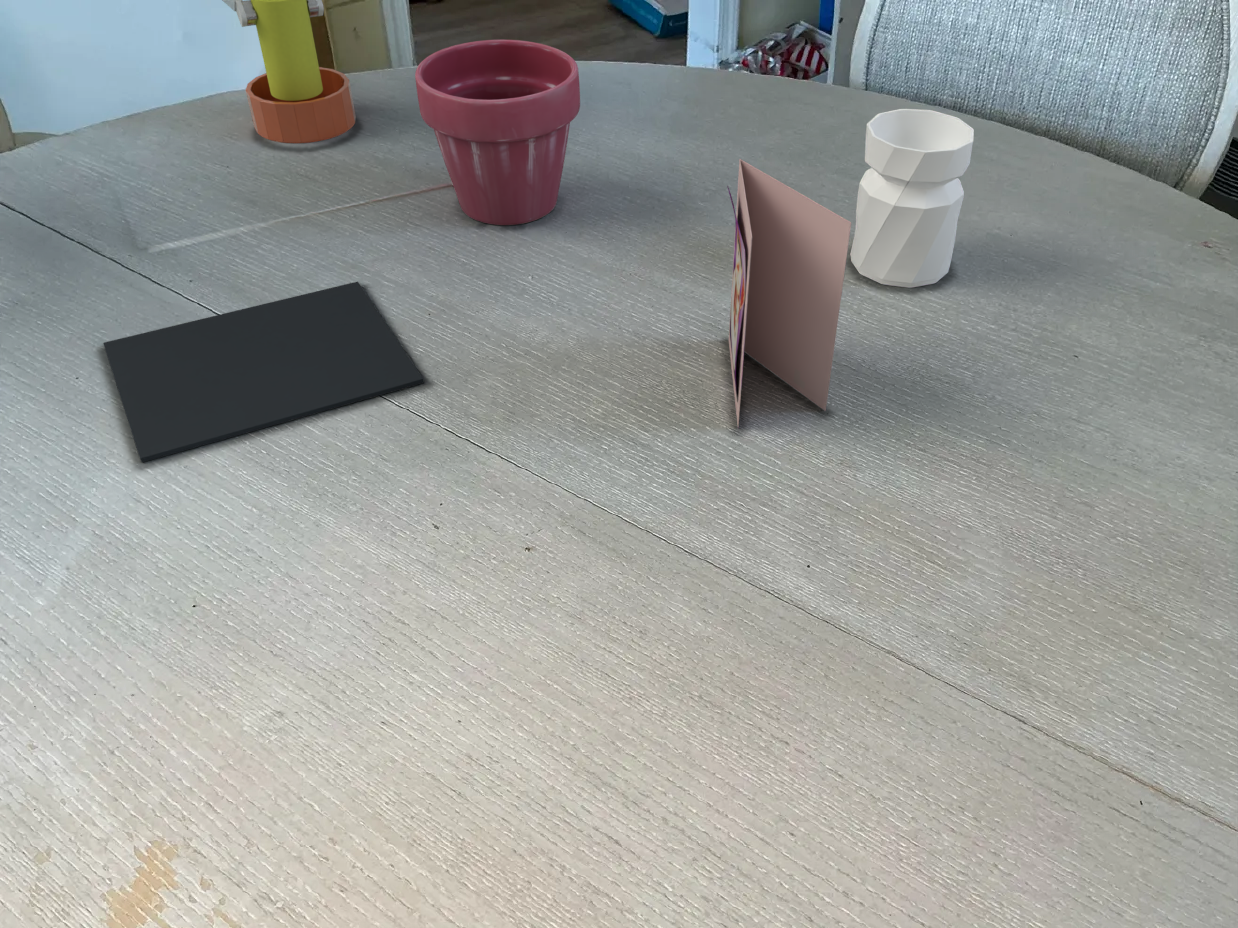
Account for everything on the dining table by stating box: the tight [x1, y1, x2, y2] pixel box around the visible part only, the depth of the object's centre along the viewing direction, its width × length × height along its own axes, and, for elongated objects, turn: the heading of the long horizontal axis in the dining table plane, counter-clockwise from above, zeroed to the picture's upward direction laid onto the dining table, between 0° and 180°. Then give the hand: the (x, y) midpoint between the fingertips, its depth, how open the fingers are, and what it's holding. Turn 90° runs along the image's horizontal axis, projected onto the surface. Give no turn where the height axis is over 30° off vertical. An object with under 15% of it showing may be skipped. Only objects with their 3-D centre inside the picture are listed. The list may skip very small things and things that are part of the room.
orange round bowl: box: [245, 66, 357, 144], centre depth 115 cm, size 10×10×4 cm
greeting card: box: [726, 158, 852, 429], centre depth 78 cm, size 11×7×15 cm, turn 1°
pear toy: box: [251, 0, 323, 101], centre depth 109 cm, size 5×5×14 cm
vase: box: [849, 108, 975, 289], centre depth 93 cm, size 9×9×12 cm
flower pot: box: [414, 39, 581, 226], centre depth 100 cm, size 14×14×13 cm
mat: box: [102, 281, 425, 463], centre depth 83 cm, size 20×16×1 cm
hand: (284, 18), depth 109 cm, fingers closed on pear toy, 5 cm apart
